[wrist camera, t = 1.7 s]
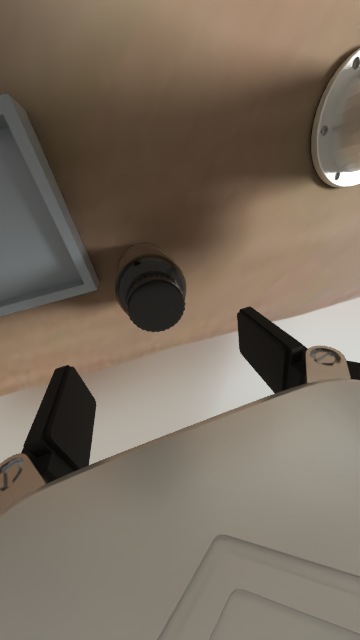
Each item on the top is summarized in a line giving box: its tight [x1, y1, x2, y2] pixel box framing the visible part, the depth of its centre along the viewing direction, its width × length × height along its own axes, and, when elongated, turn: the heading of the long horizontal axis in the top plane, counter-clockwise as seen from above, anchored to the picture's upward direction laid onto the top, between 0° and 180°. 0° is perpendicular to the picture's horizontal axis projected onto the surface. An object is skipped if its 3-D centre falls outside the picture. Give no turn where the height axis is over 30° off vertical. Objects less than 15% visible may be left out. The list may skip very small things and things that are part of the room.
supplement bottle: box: [115, 243, 186, 332], centre depth 21 cm, size 7×7×12 cm
